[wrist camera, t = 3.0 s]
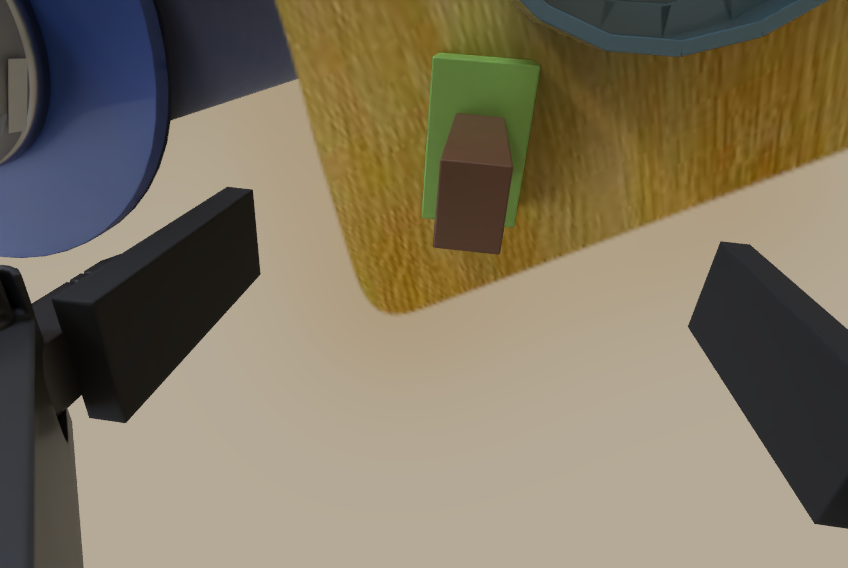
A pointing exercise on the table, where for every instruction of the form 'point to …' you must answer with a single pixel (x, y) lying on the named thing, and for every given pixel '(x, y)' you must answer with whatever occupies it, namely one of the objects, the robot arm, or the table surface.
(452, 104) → the sponge brush
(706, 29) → the bowl
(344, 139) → the table surface
